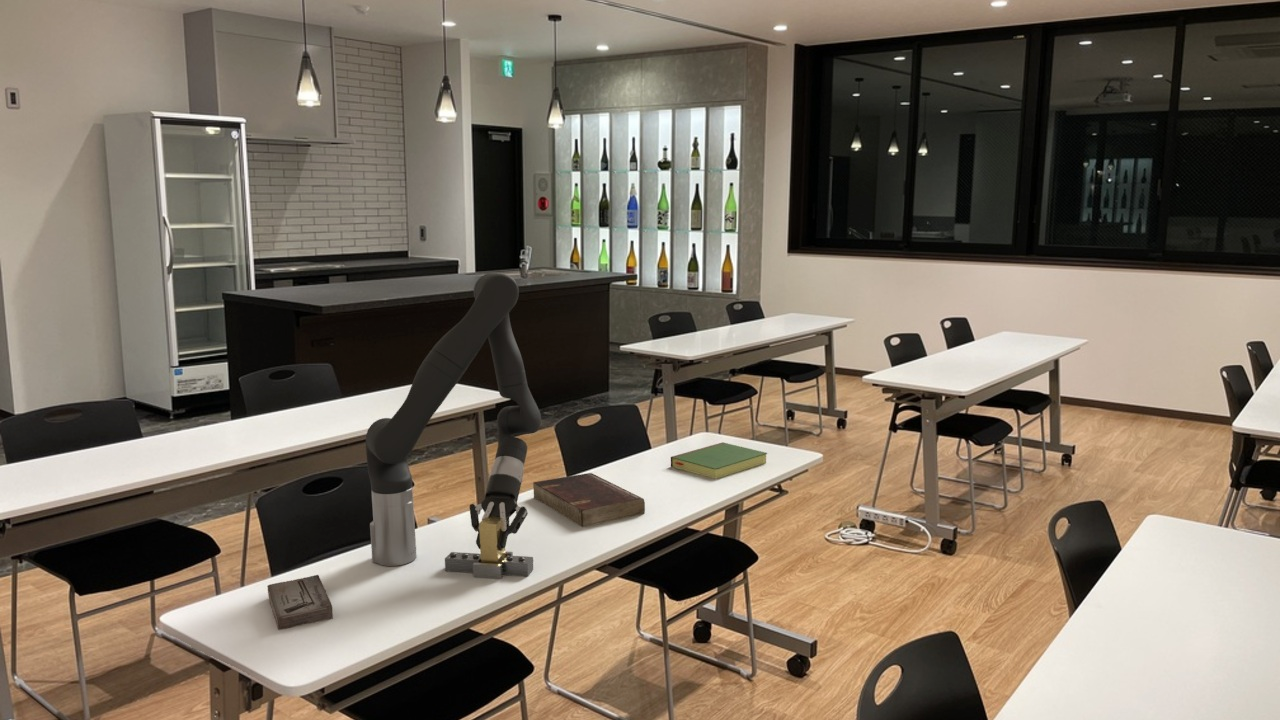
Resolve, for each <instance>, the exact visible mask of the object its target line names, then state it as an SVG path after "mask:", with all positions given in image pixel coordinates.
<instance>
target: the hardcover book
mask: <svg viewBox="0 0 1280 720" xmlns="http://www.w3.org/2000/svg"><path fill="white" fill-rule="evenodd" d="M767 455H768V452H765V451H761V450H756V449H752V448H749V447H744V446H739V445H735V444H731V443H727V442H719V443H715V444H713V445H712V444H711V445H708V446H705V447H701V448H698V449H693V450H691V451H686V452H683V453H680V454H676V455H673V456H670V467H671V468H675V469H678V470H682V471H685V472H689V473H692V474H697V475H700V476H703V477H708V478H711V479H715V480H717V479H719V478H722V477H725V476H729V475H733V474H735V473H738V472H741V471H742V472H743V471H744V470H748V469H751V468H754V467H757V466H761V465H764V464H766V463H767Z"/></svg>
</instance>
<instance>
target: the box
mask: <svg viewBox="0 0 1280 720" xmlns="http://www.w3.org/2000/svg"><path fill="white" fill-rule="evenodd" d="M267 593H268V594H267V595H268V599H269V604H270V607H271V610H272V613H273V617H274V621H275V623H276V624H275V625H276V628H277V630H279V631H281V630H285V629H290V628H294V627H297V626H302V625H309V624H312V623H313V624H314V623H318V622H322V621H328V620H332V619H333V618H334V617H333V616H334V615H333V614H334V613H333V605H332V602H331V600H330V598H329V595H328V593H327V590H326V589H325V587H324V584H323V583H322V580H321V578H320V575H319V574H315V575H311V576H310V575H309V576H307V577H301V578H296V579H293V580H286V581H281V582H276V583H272V584H271V583H270V584H268V585H267Z"/></svg>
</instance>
